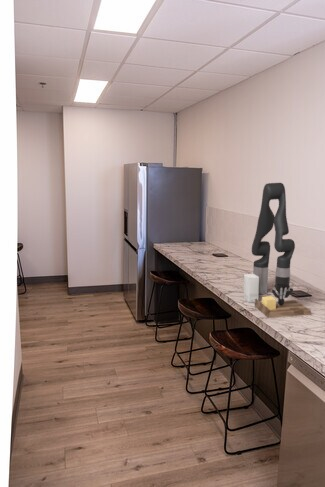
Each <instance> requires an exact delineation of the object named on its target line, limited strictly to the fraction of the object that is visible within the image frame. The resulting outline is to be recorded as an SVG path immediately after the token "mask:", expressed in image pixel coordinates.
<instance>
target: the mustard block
mask: <svg viewBox="0 0 325 487" xmlns="http://www.w3.org/2000/svg"><path fill="white" fill-rule="evenodd" d="M276 301H277V299H276V297H274V296H272V295H269V296H261V302H262V304H263V305H265V306H266V307H267V308H268V309H276Z"/></svg>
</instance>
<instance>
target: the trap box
mask: <svg viewBox="0 0 325 487" xmlns="http://www.w3.org/2000/svg"><path fill="white" fill-rule="evenodd" d="M254 307H255V308H256V310H258V311H259V312H261V313H262V314H263V315H264V316H265V317H266V318H279V317H280V318H281V317H295V316H309V315H310V316H311V314H312V313H311V312H312V311H311V309H309V308H308V307H307V306H305V305H303V304H302V303H300V302H299V301H297V300H296V299H290V300H289V299H288V300H284V304H283V305H279V304H276V309H268V308H267V307H266V306H265V305H263V304H262V301H260V300H259V299H258V300H257V299H255V302H254Z"/></svg>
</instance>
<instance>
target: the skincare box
mask: <svg viewBox="0 0 325 487" xmlns="http://www.w3.org/2000/svg"><path fill="white" fill-rule="evenodd" d="M259 295H260V294H259V277H258V276H256V275H255V274H253V273H245V274H243V299H244V300H245V301H247V303H250V304H251V303H255V299H257V300H258V301H259Z"/></svg>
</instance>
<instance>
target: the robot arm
mask: <svg viewBox="0 0 325 487" xmlns="http://www.w3.org/2000/svg"><path fill="white" fill-rule="evenodd" d="M286 196H287V195H286V188H285V185H284V183H283V182H271V183H270V182H269V183H265V184H264V186H263V189H262V199H261V205H260V211H259V215H258V220H257V225H256V229H255V230H256V231H255V236H254V238H253V240H252V241H253V242H252V245H251V253H252V256H255V257H261V258H259V259H256V260H254V261H253V269H252V274H255V275H256V276H258V277H259V294H258V295H265V294H267V293H268V284H269V283H268V281H269V263H270V254H271V244H270V242H269V241H265V240H263V239H264V238H265V237H266V236H267V235H268V234H269V233H270V232H271V231H272V230H273V228H274V231H275V234H274V237H275V238H274V242H273V243H274V249H275V251H276V252H278V253H283V254H281V255H279V256H277V257H276V268H275V277H274V278H275V279H274V280H275V281H274V283H275V284H274V287H273V288H270V291H271V293H272V294H273V297H274V298H277V301H278V304H279V305H283V304H284V301H285V299H288V298H289V297H290V296H291V294H292V293H293V292H294V289H293V288H291V286H290V282H291V281H290V280H291V260H292V258H293V255H294V252H295V250H296V249H295V248H296V244H295V241H294V240H293V239H292V238H284V239H283V237H284V236H287V235H288V234H290V233H289V232H290V230H289V225H288V224H289V223H288V218H287V200H286V199H287V198H286ZM271 200H272V201H273V200H277V201H278V207H277V211H276V212H275V214H274V212H273V210H272V209H271V206H270V201H271Z"/></svg>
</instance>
